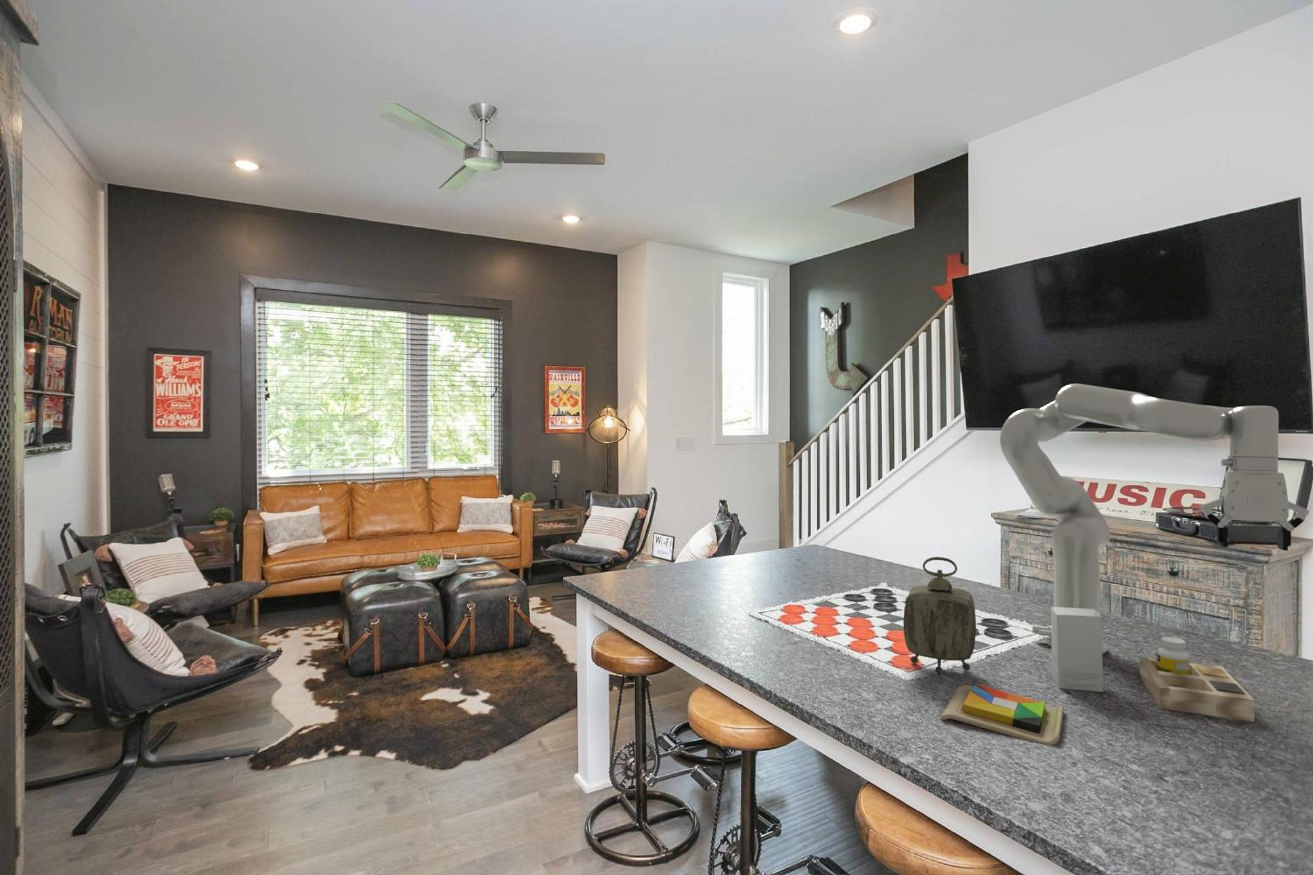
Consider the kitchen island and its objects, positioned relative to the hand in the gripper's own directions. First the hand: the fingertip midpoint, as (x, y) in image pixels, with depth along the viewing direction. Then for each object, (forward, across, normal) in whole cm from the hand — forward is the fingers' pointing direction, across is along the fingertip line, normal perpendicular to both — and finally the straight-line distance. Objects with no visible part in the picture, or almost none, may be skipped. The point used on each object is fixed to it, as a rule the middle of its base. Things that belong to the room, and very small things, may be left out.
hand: (1252, 547), depth 142 cm
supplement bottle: (+28, -15, -9) cm, 34 cm away
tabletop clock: (+28, -59, -20) cm, 69 cm away
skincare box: (+28, -33, -17) cm, 47 cm away
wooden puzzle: (+29, -47, -40) cm, 68 cm away
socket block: (+28, -13, -14) cm, 34 cm away
